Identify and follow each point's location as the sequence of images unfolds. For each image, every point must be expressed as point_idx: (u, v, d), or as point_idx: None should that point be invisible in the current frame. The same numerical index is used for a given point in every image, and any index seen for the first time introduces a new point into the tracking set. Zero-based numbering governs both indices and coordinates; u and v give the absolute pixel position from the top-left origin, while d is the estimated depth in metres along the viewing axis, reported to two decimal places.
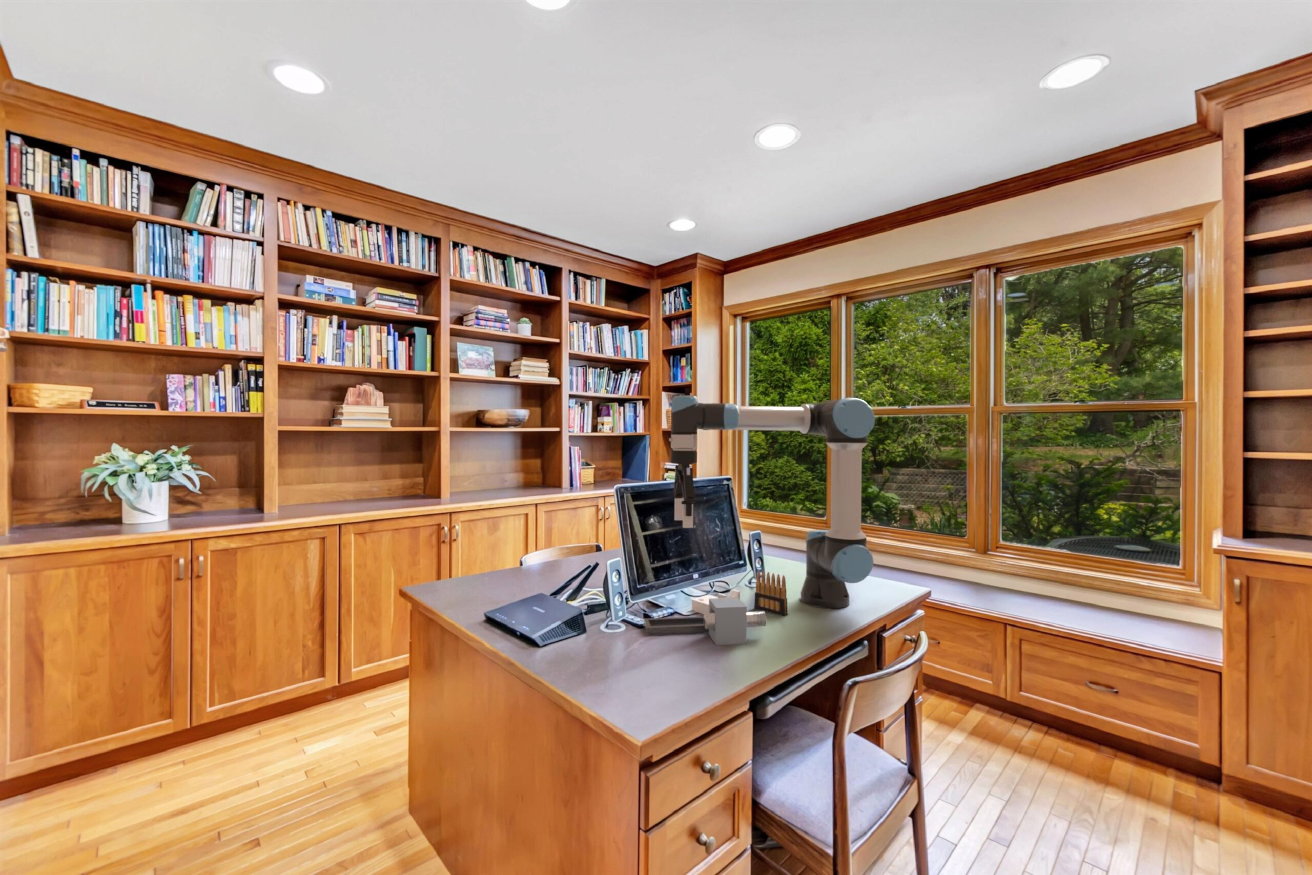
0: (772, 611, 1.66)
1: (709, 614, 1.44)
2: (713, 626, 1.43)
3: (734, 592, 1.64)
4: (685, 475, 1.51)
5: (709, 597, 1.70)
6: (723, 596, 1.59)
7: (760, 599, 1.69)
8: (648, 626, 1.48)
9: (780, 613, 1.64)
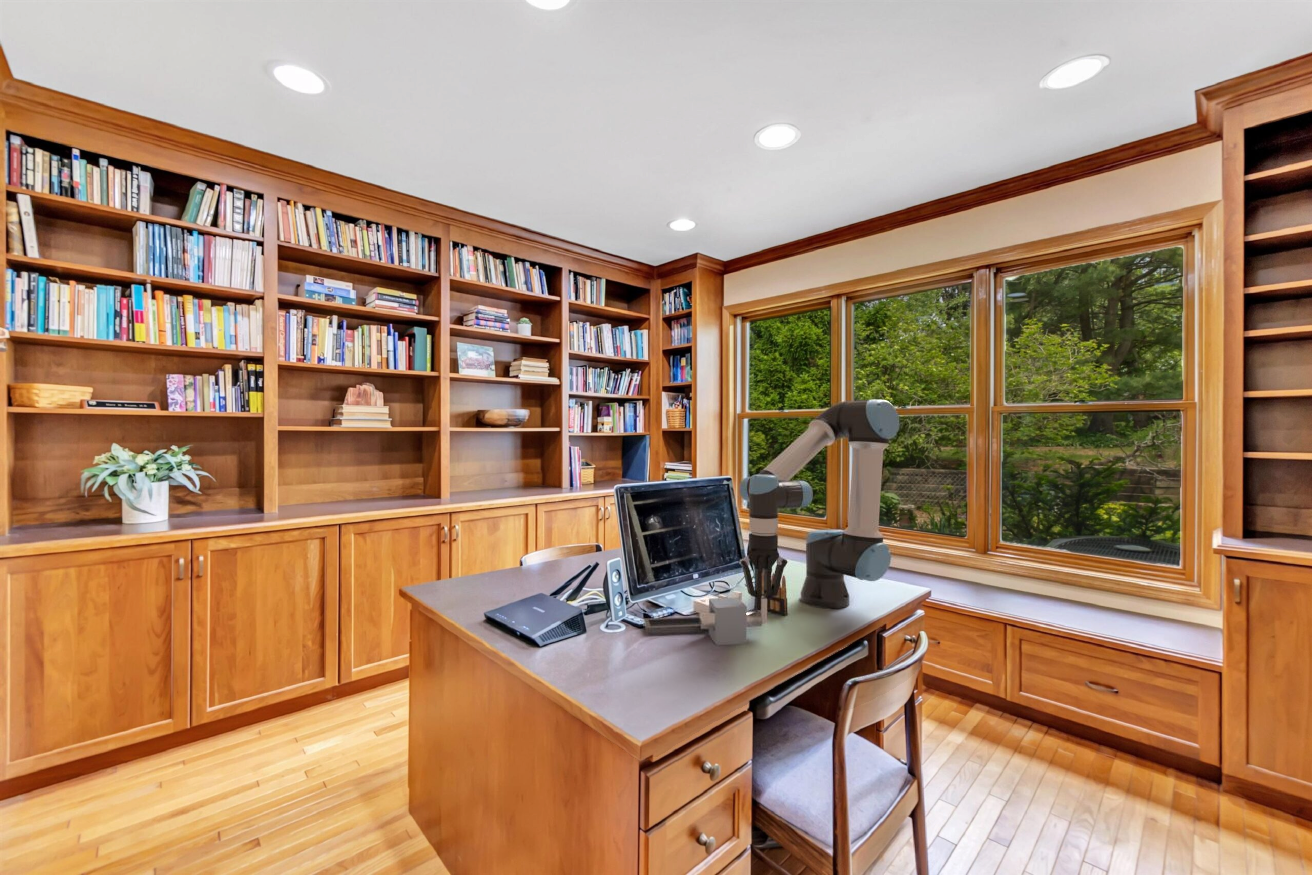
0: (772, 611, 1.66)
1: (705, 614, 1.43)
2: (709, 626, 1.42)
3: (735, 593, 1.62)
4: (742, 567, 1.46)
5: None
6: (723, 597, 1.58)
7: None
8: (648, 626, 1.48)
9: (780, 613, 1.64)
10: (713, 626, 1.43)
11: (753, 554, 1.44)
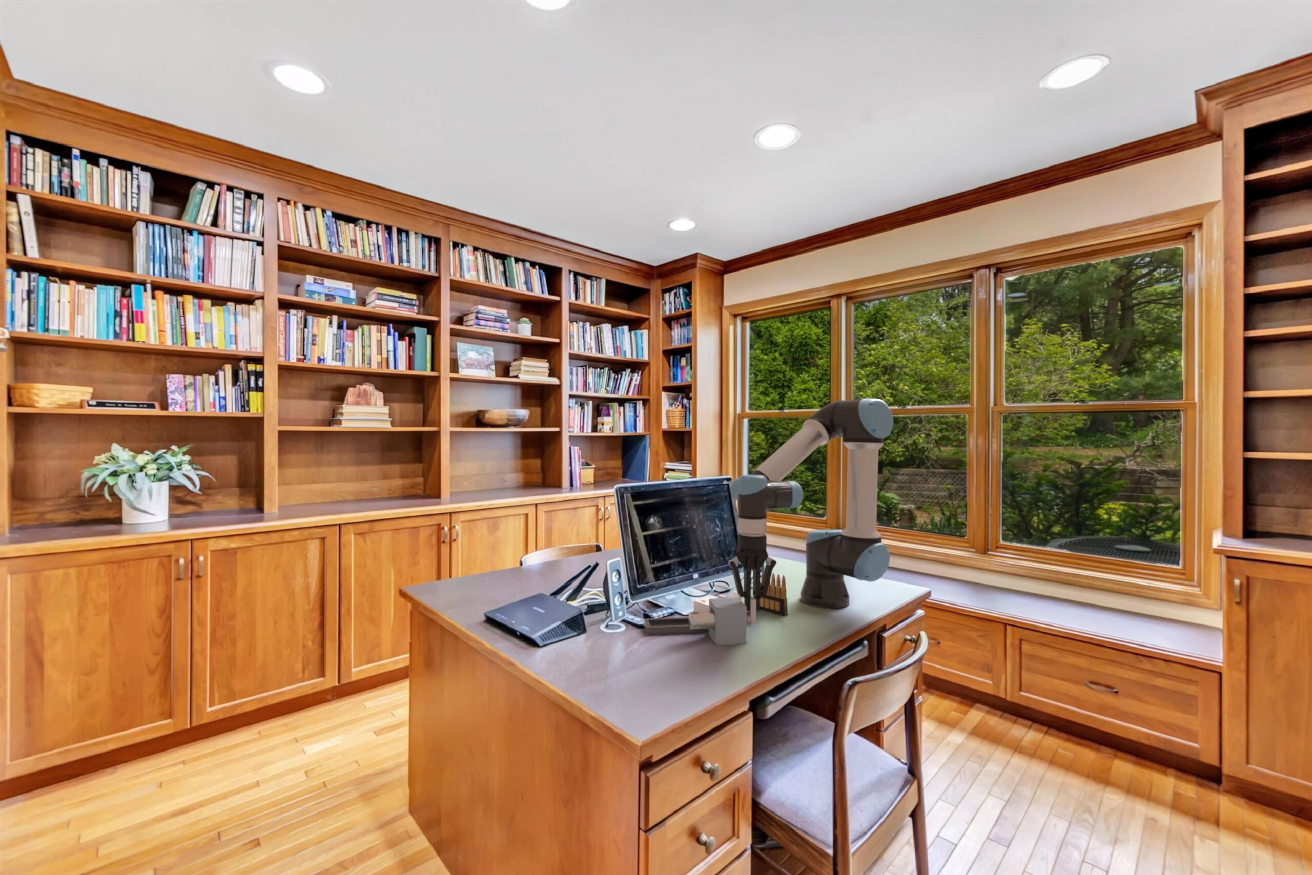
0: (772, 611, 1.66)
1: (694, 615, 1.43)
2: (698, 627, 1.42)
3: (735, 594, 1.62)
4: None
5: None
6: (723, 597, 1.58)
7: (760, 599, 1.69)
8: (648, 626, 1.48)
9: (780, 613, 1.64)
10: (702, 626, 1.42)
11: (742, 555, 1.44)
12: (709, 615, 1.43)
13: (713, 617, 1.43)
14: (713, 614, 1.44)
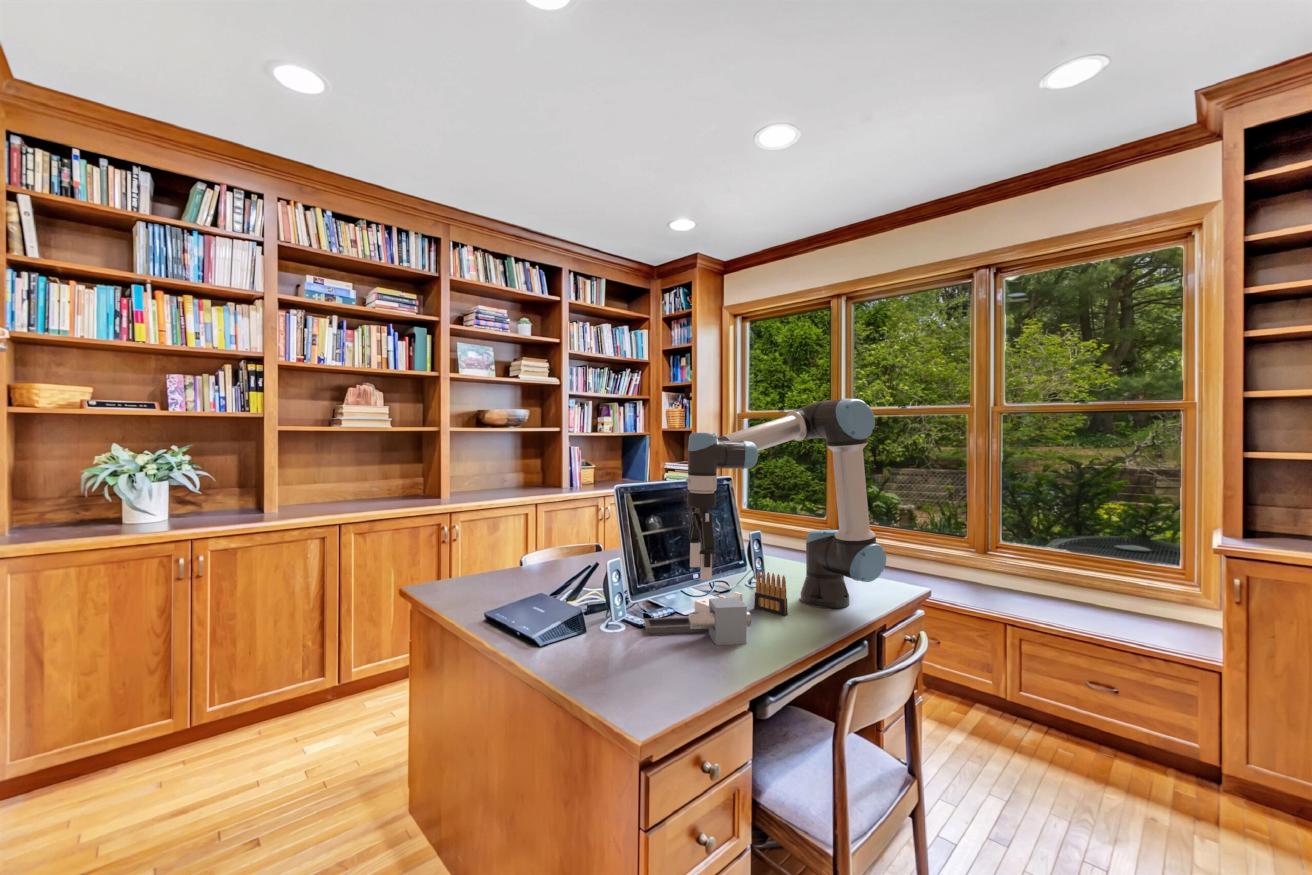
0: (772, 611, 1.66)
1: (694, 614, 1.43)
2: (698, 626, 1.42)
3: (736, 594, 1.61)
4: (704, 522, 1.36)
5: None
6: None
7: (760, 599, 1.69)
8: (648, 626, 1.48)
9: (780, 613, 1.64)
10: (702, 626, 1.42)
11: None
12: (709, 614, 1.44)
13: (713, 616, 1.43)
14: (713, 614, 1.44)
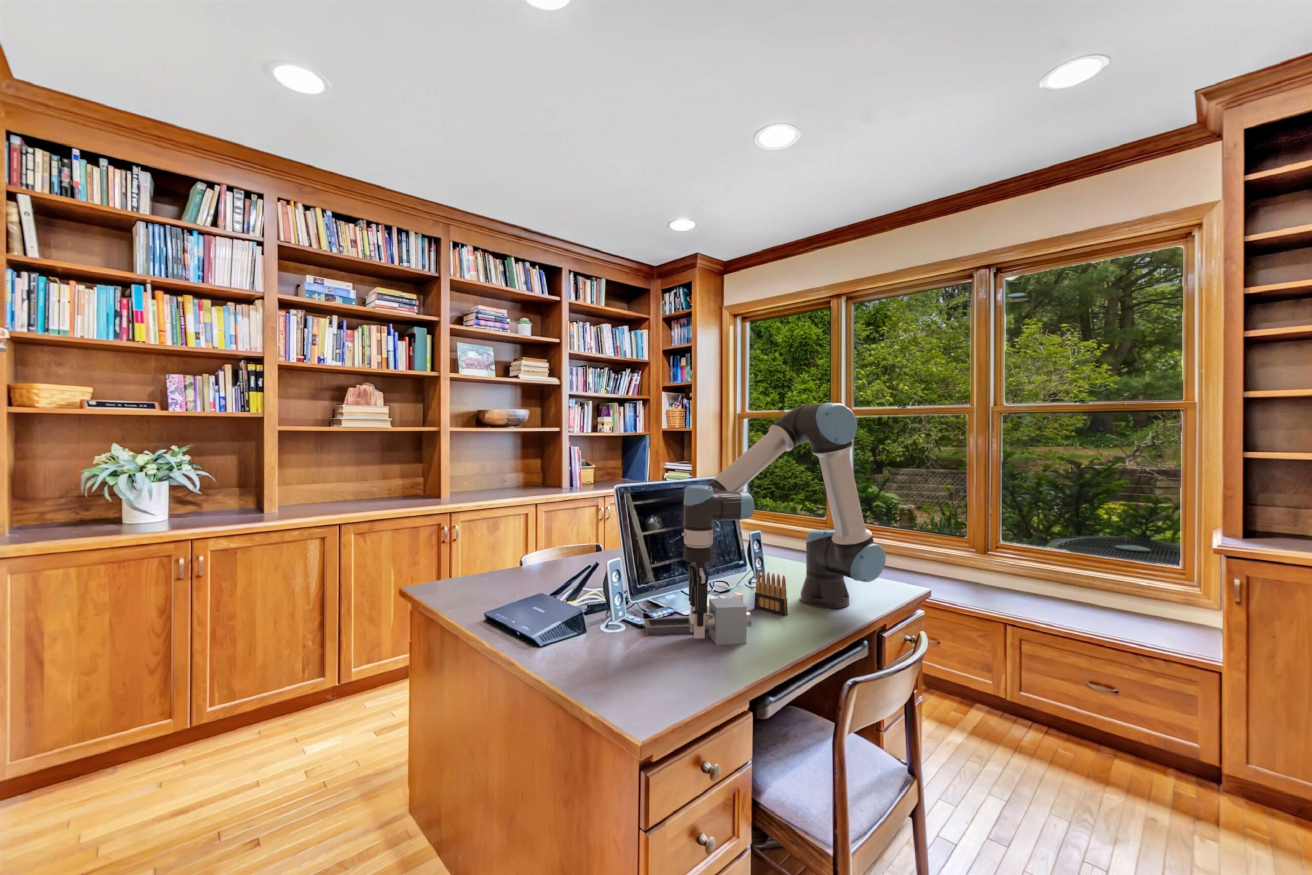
0: (772, 611, 1.66)
1: None
2: None
3: (737, 595, 1.61)
4: (699, 584, 1.38)
5: None
6: None
7: (760, 599, 1.69)
8: (648, 626, 1.48)
9: (780, 613, 1.64)
10: None
11: None
12: (709, 615, 1.43)
13: (713, 618, 1.43)
14: (713, 615, 1.43)
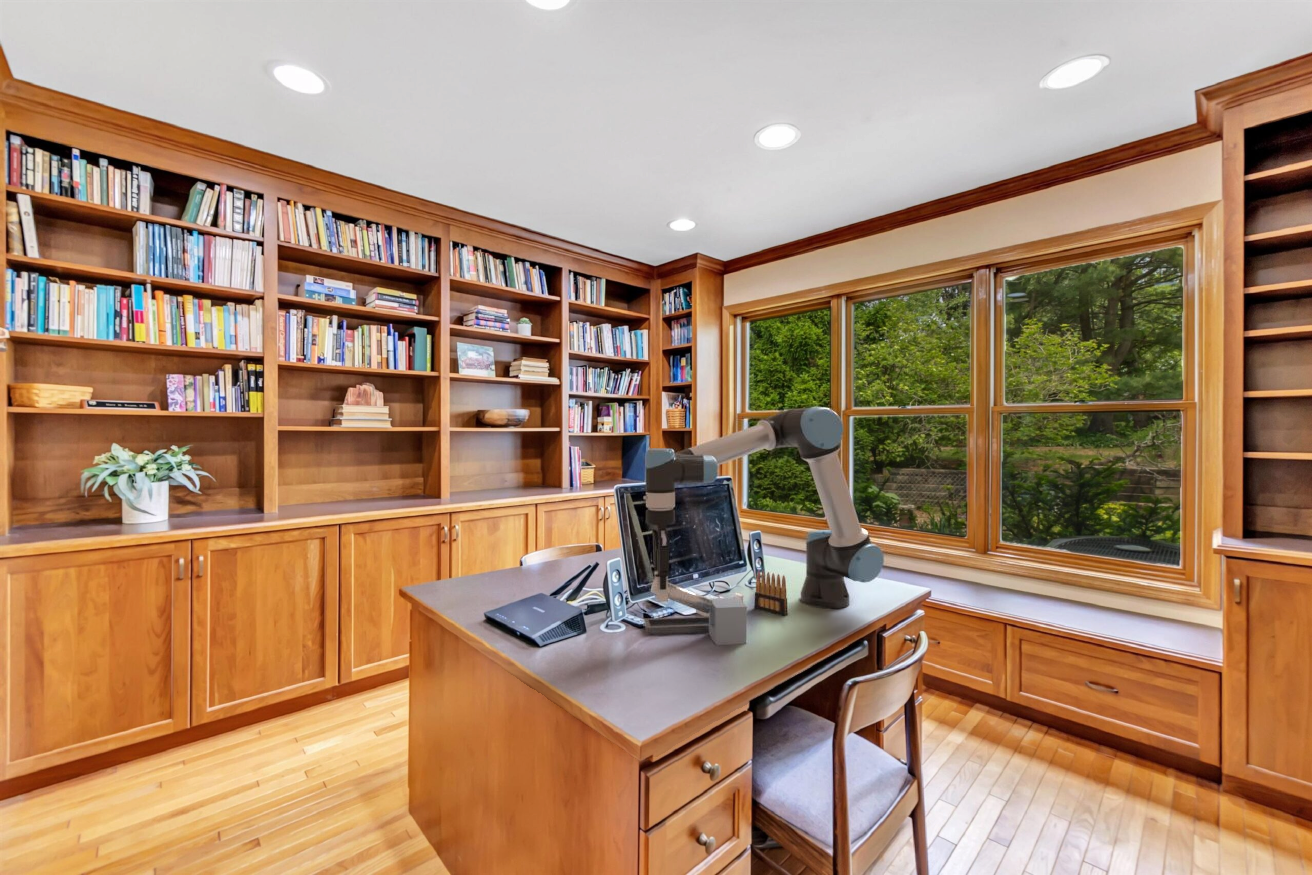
0: (772, 611, 1.66)
1: None
2: None
3: (737, 596, 1.60)
4: (660, 546, 1.36)
5: None
6: None
7: (760, 599, 1.69)
8: (648, 626, 1.48)
9: (780, 613, 1.64)
10: None
11: (666, 531, 1.39)
12: (674, 586, 1.42)
13: (677, 590, 1.42)
14: (678, 587, 1.42)
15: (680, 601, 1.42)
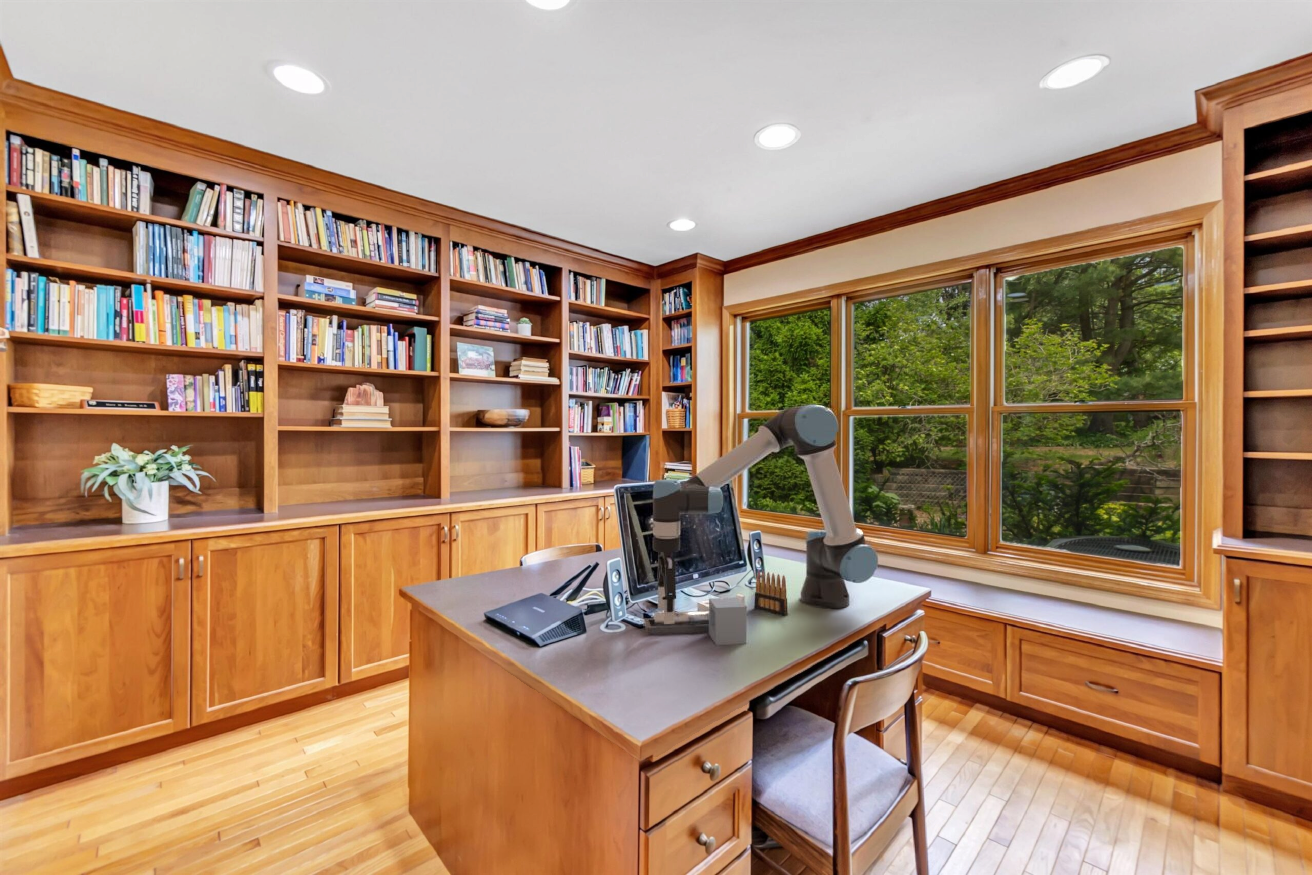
0: (772, 611, 1.66)
1: (658, 613, 1.51)
2: (662, 625, 1.50)
3: (738, 597, 1.59)
4: (667, 569, 1.44)
5: None
6: None
7: (760, 599, 1.69)
8: (648, 626, 1.48)
9: (780, 613, 1.64)
10: (666, 625, 1.50)
11: None
12: None
13: (677, 615, 1.50)
14: (677, 613, 1.51)
15: (683, 624, 1.51)
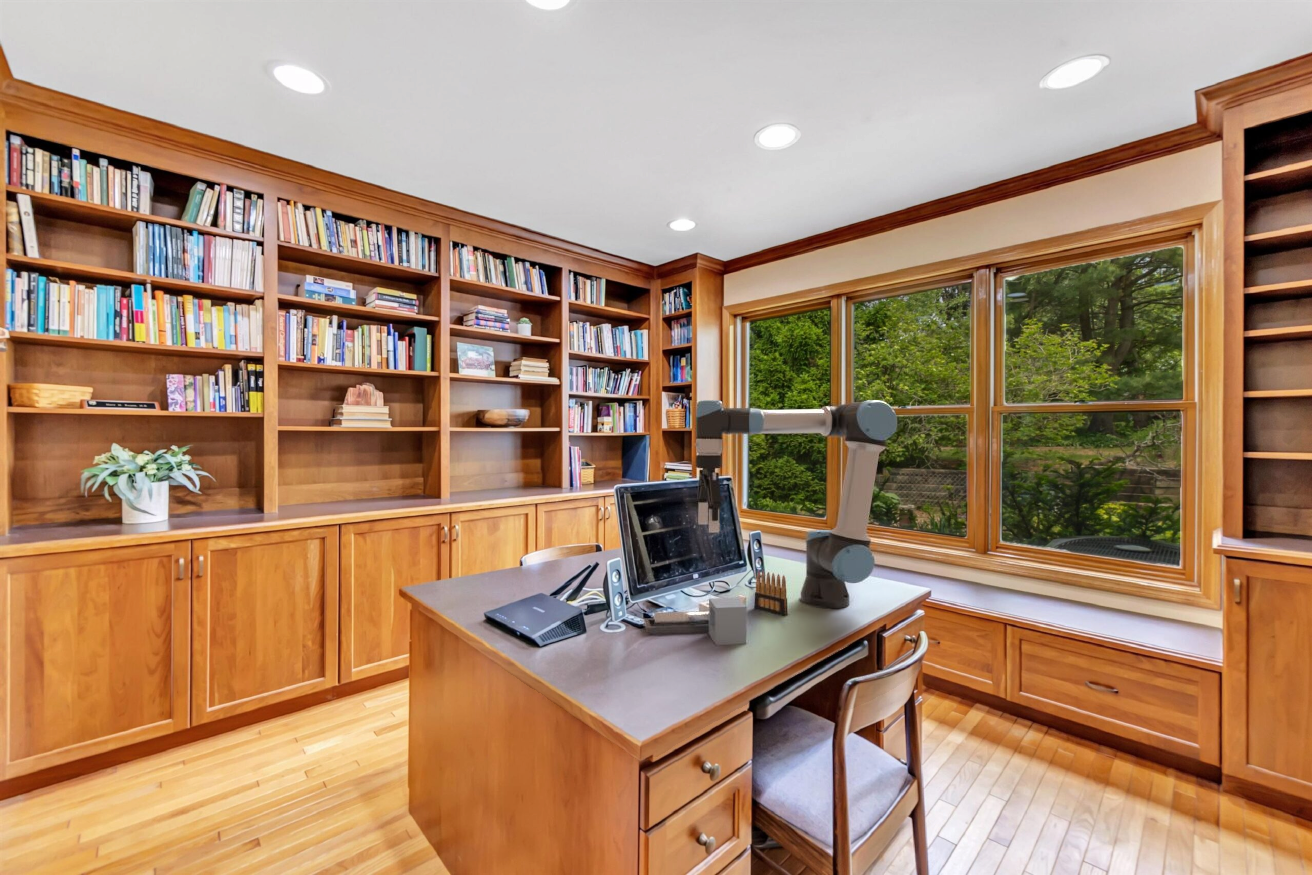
0: (772, 611, 1.66)
1: (658, 614, 1.50)
2: (662, 625, 1.50)
3: (740, 598, 1.58)
4: (711, 480, 1.51)
5: None
6: None
7: (760, 599, 1.69)
8: (648, 626, 1.48)
9: (780, 613, 1.64)
10: (666, 625, 1.50)
11: None
12: (673, 614, 1.51)
13: (677, 616, 1.50)
14: (677, 613, 1.51)
15: (683, 624, 1.51)
